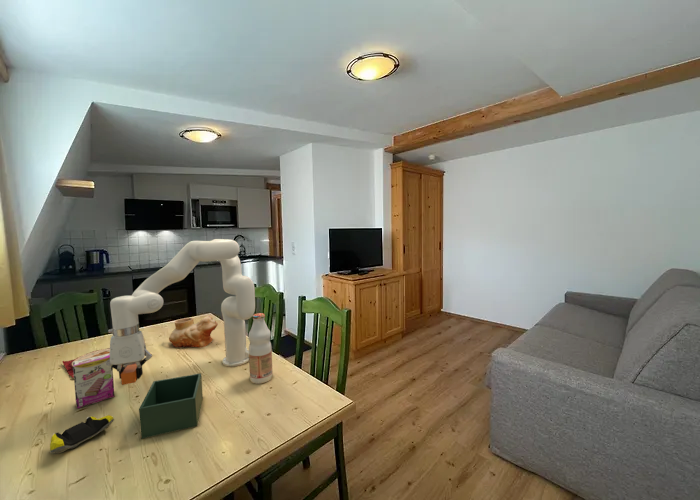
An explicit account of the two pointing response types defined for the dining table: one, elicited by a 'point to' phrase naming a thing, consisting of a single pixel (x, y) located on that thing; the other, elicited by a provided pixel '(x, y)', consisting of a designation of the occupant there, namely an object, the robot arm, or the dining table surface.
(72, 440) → the black and yellow piece
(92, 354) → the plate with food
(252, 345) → the fruit juice
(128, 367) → the orange rectangular block
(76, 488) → the dining table surface
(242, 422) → the dining table surface
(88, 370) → the candy bar box
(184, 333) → the ceramic vessel
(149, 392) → the trash bin
